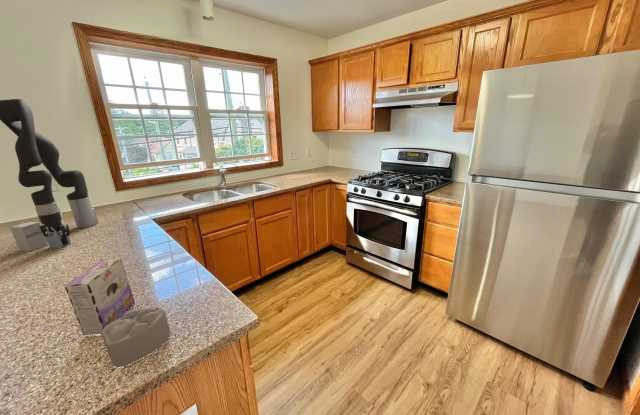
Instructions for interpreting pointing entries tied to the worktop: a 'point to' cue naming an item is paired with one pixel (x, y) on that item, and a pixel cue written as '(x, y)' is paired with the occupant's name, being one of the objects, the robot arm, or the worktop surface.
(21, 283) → the worktop surface
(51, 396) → the worktop surface
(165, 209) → the worktop surface
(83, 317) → the candy box
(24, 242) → the supplement box
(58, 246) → the blue block
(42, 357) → the worktop surface
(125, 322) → the grey lumpy block
